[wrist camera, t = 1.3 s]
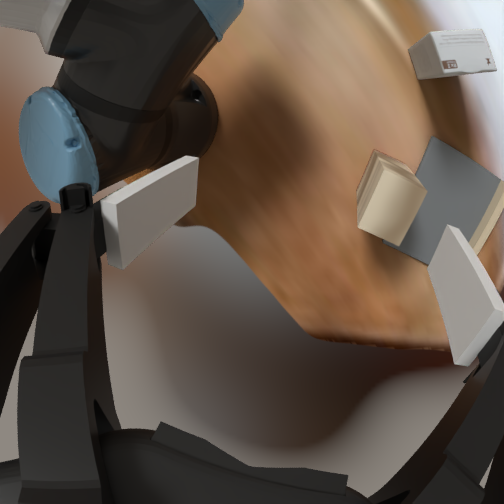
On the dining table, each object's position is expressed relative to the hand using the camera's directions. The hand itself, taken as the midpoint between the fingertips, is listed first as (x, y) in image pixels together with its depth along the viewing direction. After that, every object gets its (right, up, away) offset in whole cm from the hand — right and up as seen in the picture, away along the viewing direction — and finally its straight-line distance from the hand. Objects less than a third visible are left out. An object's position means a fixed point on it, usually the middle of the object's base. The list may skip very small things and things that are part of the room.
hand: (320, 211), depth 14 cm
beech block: (+13, +7, +20) cm, 25 cm away
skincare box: (+18, +21, +11) cm, 30 cm away
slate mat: (+23, +3, +19) cm, 30 cm away
